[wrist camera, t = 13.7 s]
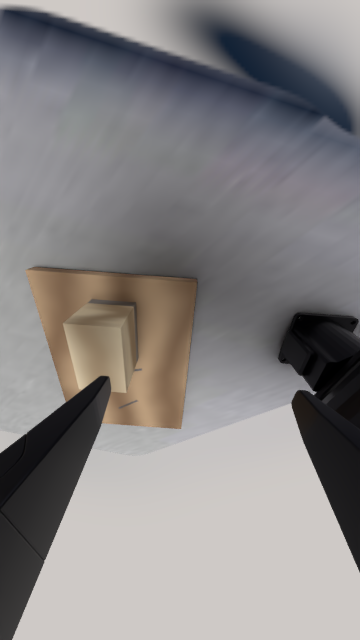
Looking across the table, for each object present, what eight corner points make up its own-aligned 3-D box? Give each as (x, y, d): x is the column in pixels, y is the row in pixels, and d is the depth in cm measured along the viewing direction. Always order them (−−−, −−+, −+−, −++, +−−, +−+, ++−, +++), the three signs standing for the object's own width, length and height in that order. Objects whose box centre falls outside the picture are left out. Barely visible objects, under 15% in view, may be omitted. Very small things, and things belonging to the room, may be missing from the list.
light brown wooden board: (196, 279, 19) (197, 282, 18) (181, 421, 29) (181, 429, 28) (34, 266, 19) (25, 269, 18) (76, 413, 29) (71, 421, 28)
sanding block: (136, 302, 19) (120, 327, 15) (138, 358, 22) (126, 392, 18) (91, 299, 19) (62, 323, 15) (100, 355, 22) (79, 389, 18)
